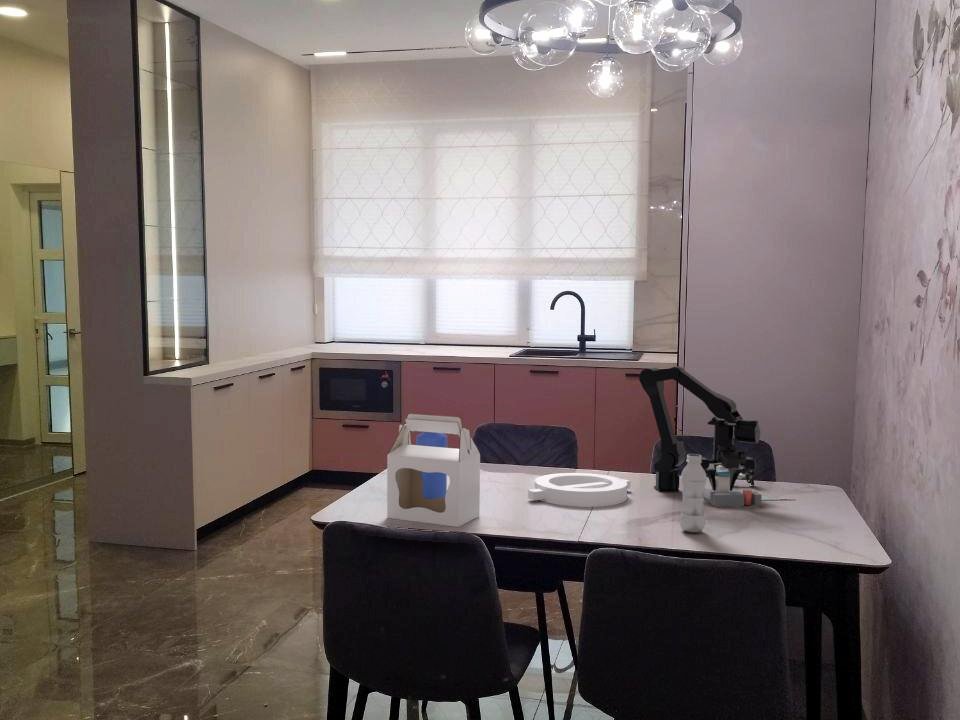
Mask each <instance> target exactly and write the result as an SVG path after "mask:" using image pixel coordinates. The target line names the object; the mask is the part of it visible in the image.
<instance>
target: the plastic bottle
mask: <svg viewBox="0 0 960 720" xmlns="http://www.w3.org/2000/svg"><path fill="white" fill-rule="evenodd" d="M701 457H702V455H701V454H699V453H698V454H697V453H688V454H687V455H686V460H685V461H686V463H687V464H686V465H685V467H684V468H683V470H682V471H681V474H680V479H681V480H680V481H681V487H682V503H681V504H682V505H681V513H680V516H679V527H680V528H681V531H684V532H686V533H687V532H688V533H691V534H692V533H695V534H696V533H702V532H703V530H705V526H706V517H705V509H704V506H705V505H704V501H705V500H704V498H703V497H704V489H706V483H707V474H706V472H705V470H704V469H703V468H702V466H701V464H700V463H702V461H701Z"/></svg>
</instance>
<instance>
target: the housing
mask: <svg viewBox="0 0 960 720" xmlns="http://www.w3.org/2000/svg"><path fill="white" fill-rule="evenodd" d="M759 493H760V492H757V491H752V504H751V505H752V506H753V505H754V507H762V500H761V496H762V495H761V494H759ZM703 498H704V500H703V501H705V502H706V501H707V502H706V503H708V504H709V503H710V504H709V505H711V506H712V505H713V507H714V508H729V507H730V508H736V507H737V508H741V507H742V508H743V507H744V508H745V504H744V494H743V491H739V490H738V489H736V488H733V489H732V491H730V492H715V491H713V489H712V488H705V489H704V497H703Z"/></svg>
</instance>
